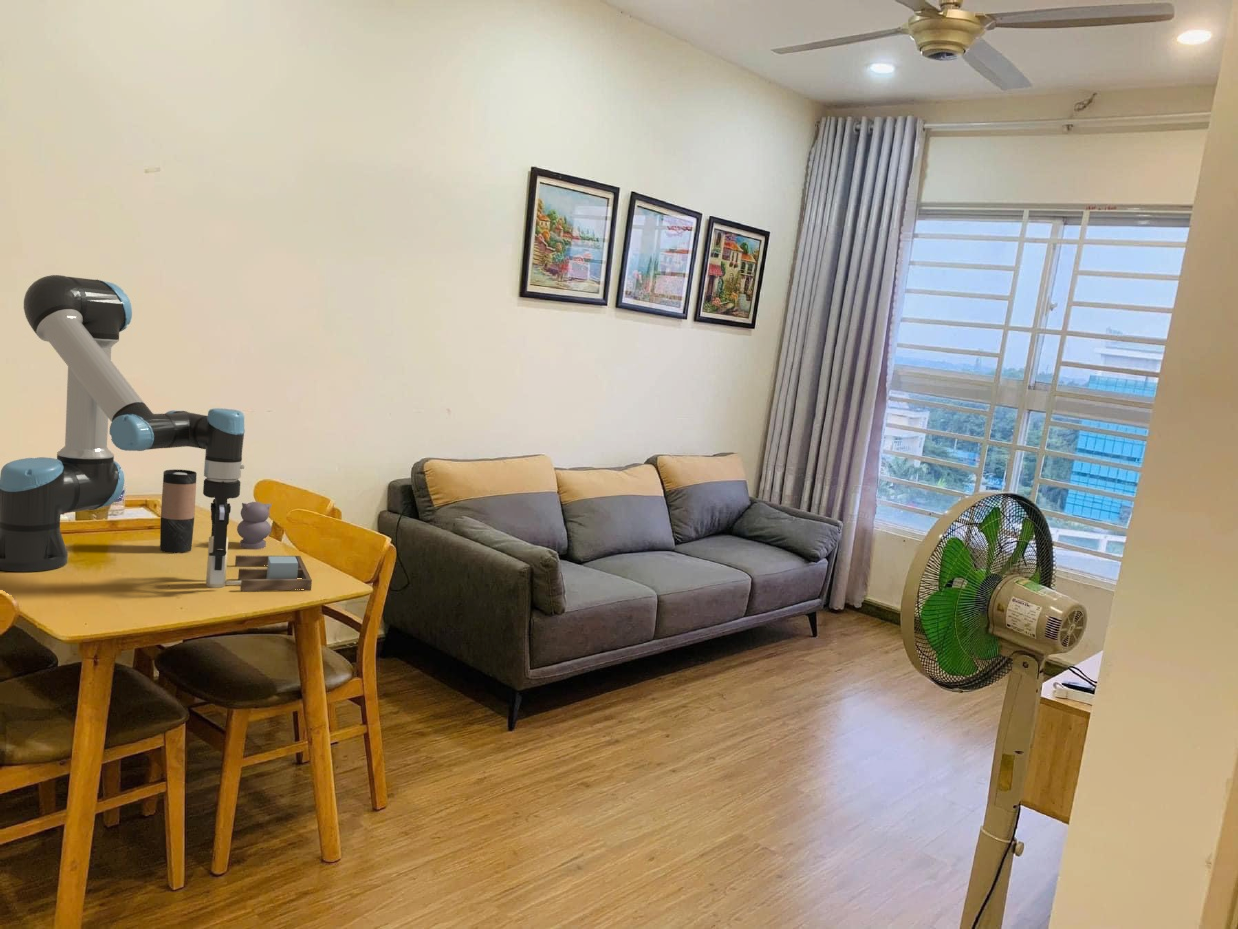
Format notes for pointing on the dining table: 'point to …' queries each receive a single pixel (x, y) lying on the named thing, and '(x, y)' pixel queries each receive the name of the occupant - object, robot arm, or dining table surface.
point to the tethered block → (275, 570)
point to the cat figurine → (254, 525)
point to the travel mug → (177, 511)
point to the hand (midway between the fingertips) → (216, 578)
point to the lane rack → (258, 577)
